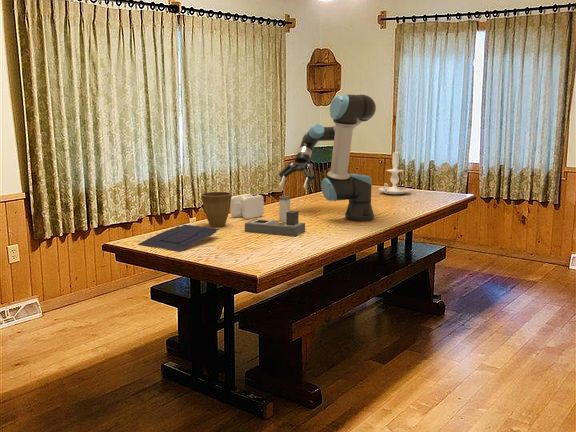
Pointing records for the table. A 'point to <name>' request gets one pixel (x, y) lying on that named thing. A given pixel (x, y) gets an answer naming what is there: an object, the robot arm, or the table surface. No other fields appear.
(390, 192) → the candlestick
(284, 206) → the plug
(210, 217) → the plant pot
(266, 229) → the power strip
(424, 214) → the table surface
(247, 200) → the white lumpy block
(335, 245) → the table surface
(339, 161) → the robot arm
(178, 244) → the dark blue folded cloth
